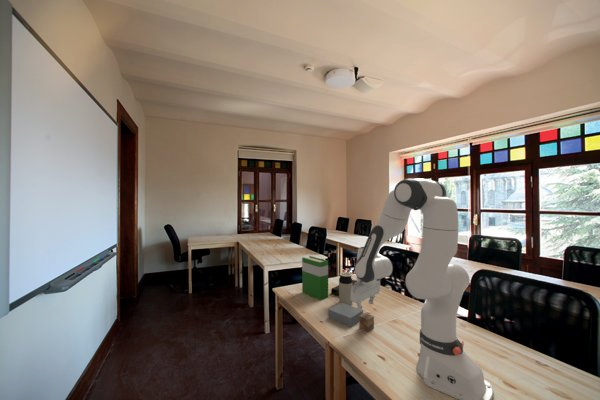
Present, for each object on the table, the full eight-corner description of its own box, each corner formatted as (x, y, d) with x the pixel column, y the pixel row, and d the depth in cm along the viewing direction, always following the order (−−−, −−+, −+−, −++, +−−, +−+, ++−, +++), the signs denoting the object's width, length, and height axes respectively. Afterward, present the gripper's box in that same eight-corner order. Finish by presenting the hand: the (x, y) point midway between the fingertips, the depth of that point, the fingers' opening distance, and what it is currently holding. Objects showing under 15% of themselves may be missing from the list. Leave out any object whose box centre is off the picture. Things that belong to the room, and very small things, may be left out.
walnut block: (373, 328, 117) (373, 316, 117) (368, 332, 114) (368, 319, 114) (365, 324, 121) (365, 312, 121) (359, 327, 118) (359, 315, 118)
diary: (330, 295, 161) (330, 287, 161) (349, 285, 180) (348, 278, 181) (356, 302, 149) (355, 294, 149) (372, 290, 168) (372, 283, 168)
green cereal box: (302, 292, 165) (302, 257, 165) (310, 289, 169) (310, 256, 169) (320, 300, 151) (319, 262, 151) (328, 297, 155) (328, 260, 156)
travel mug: (354, 305, 143) (353, 275, 143) (340, 306, 142) (340, 276, 142) (350, 300, 151) (350, 271, 151) (337, 300, 150) (337, 272, 150)
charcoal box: (363, 319, 127) (363, 310, 127) (350, 328, 118) (350, 318, 118) (341, 311, 137) (341, 302, 137) (328, 318, 128) (328, 309, 128)
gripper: (358, 285, 109) (358, 315, 109) (382, 276, 122) (382, 302, 123) (347, 281, 114) (347, 310, 114) (371, 272, 127) (371, 298, 127)
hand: (365, 306), depth 118 cm, fingers open, 8 cm apart
